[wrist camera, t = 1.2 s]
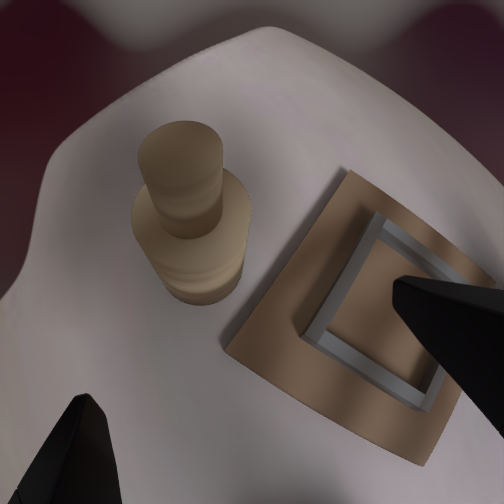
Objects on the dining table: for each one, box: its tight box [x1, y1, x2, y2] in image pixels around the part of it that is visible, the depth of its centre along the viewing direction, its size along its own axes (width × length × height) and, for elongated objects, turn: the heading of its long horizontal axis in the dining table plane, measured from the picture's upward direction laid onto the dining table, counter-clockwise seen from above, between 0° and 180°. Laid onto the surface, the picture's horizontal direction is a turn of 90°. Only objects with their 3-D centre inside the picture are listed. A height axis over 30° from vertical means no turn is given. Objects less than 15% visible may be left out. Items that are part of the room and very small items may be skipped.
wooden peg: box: [131, 121, 251, 306], centre depth 17 cm, size 6×6×12 cm
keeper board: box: [224, 170, 496, 467], centre depth 21 cm, size 18×18×2 cm
